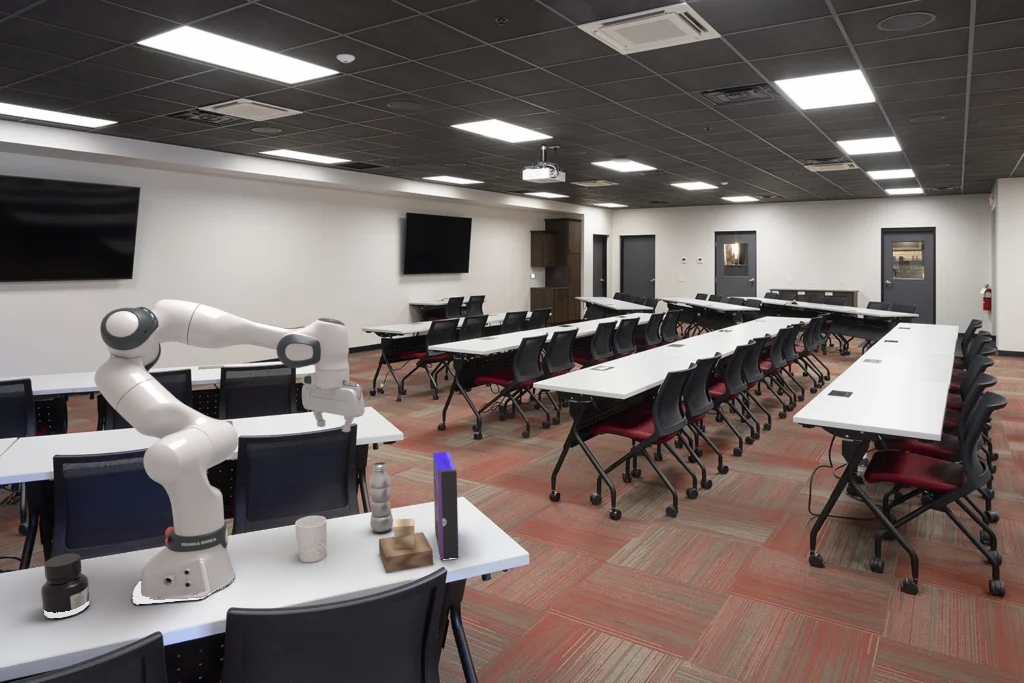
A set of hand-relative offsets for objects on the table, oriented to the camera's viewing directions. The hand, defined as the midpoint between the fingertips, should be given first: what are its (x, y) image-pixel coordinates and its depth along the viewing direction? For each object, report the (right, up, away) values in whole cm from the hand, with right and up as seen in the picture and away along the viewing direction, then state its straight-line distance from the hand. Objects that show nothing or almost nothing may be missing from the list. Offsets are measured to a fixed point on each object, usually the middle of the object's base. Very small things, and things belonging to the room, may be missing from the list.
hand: (333, 429), depth 180 cm
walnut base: (+20, -34, -5) cm, 40 cm away
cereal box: (+30, -33, +3) cm, 45 cm away
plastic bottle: (+11, -32, +14) cm, 36 cm away
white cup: (-5, -34, -3) cm, 34 cm away
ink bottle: (-53, -38, -29) cm, 71 cm away
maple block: (+20, -30, -6) cm, 36 cm away
